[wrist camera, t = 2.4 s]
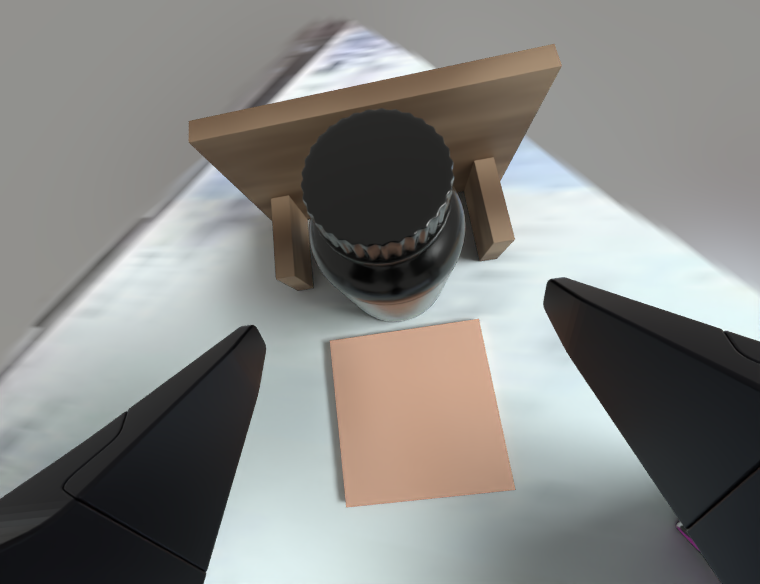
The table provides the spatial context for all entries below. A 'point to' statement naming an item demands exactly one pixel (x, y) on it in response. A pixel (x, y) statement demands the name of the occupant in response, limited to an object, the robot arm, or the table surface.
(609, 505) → the table surface
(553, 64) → the walnut shelf nook
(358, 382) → the terracotta tile
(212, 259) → the table surface
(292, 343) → the table surface
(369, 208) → the supplement bottle
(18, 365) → the table surface
